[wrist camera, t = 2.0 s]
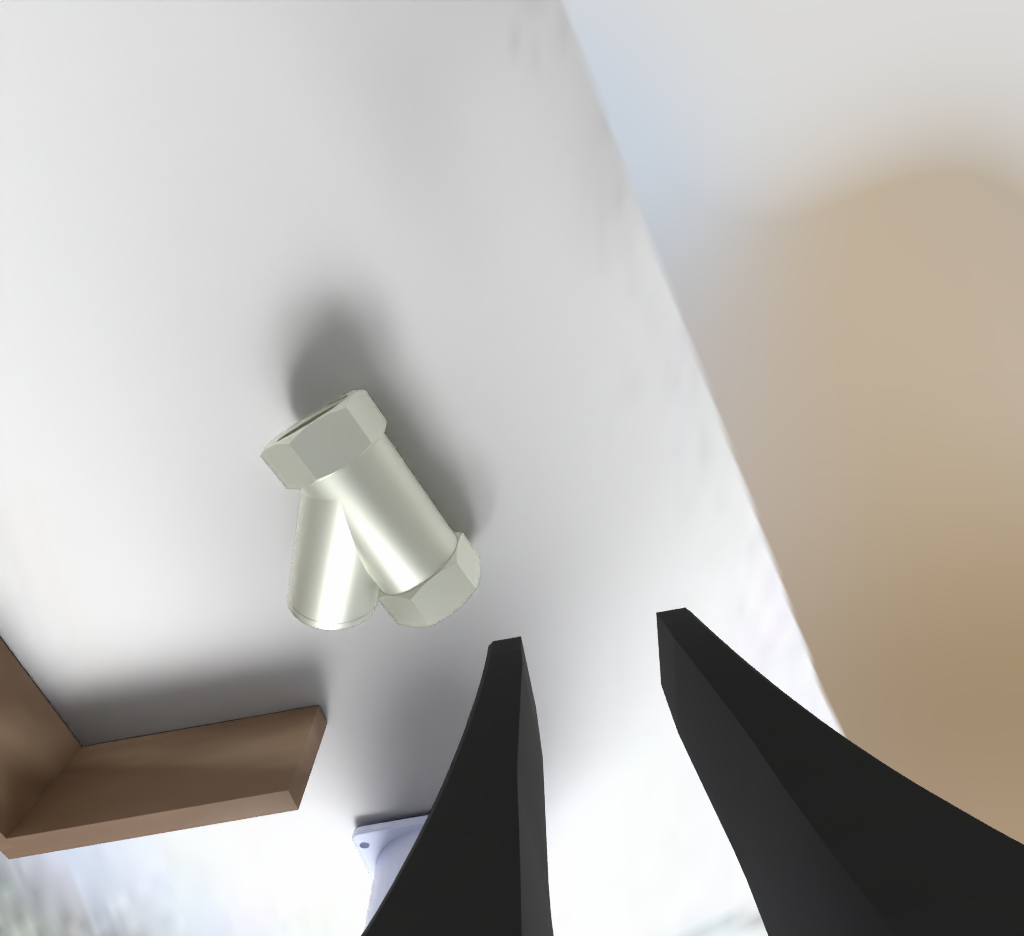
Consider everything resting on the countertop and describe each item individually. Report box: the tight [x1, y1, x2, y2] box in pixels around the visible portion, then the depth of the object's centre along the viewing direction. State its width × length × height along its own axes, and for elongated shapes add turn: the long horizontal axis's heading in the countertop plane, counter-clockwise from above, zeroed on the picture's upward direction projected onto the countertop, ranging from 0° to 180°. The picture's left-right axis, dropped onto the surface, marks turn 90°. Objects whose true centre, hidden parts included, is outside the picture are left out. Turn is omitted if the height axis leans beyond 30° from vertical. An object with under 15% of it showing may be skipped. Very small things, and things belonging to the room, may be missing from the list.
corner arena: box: [0, 638, 327, 859], centre depth 19 cm, size 16×13×4 cm
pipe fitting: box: [260, 390, 480, 630], centre depth 18 cm, size 8×4×7 cm
